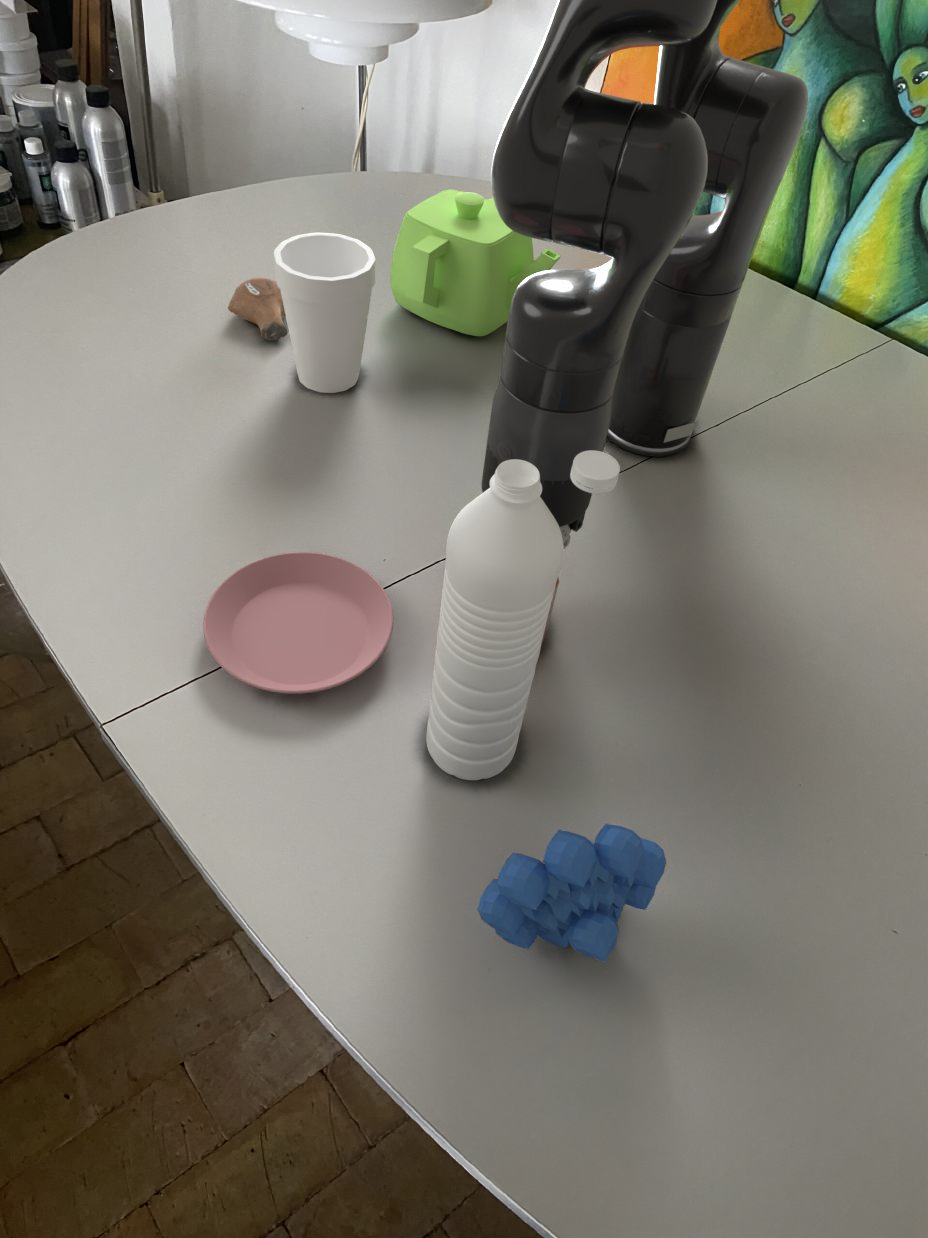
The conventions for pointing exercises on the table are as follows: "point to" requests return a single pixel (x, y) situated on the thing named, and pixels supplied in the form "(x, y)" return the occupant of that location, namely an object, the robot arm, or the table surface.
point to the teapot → (461, 262)
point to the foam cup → (326, 305)
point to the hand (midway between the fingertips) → (512, 607)
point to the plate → (298, 622)
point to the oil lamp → (260, 306)
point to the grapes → (574, 890)
